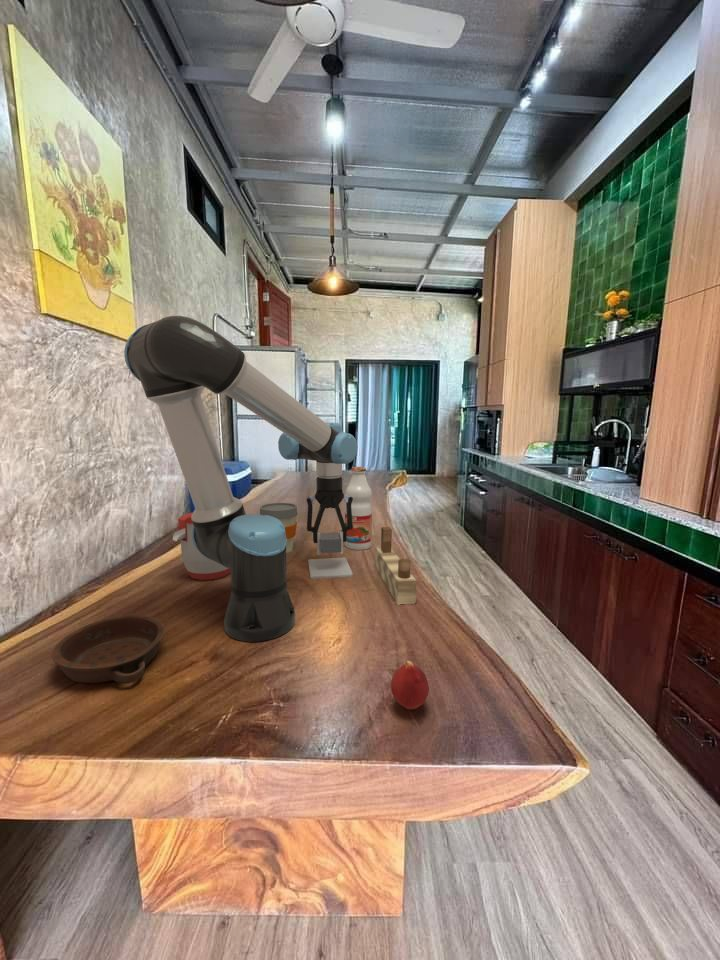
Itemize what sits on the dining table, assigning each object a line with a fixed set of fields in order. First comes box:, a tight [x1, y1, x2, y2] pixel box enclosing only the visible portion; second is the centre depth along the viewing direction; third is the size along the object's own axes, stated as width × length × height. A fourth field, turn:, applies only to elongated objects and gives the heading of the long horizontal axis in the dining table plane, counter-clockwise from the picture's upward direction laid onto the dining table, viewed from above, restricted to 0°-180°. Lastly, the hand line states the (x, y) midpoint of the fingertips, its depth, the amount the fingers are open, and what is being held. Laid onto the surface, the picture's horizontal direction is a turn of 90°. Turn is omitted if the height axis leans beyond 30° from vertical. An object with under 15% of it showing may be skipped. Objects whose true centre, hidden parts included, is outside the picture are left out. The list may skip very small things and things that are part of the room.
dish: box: [51, 614, 166, 685], centre depth 74 cm, size 17×22×5 cm
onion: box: [390, 660, 430, 710], centre depth 63 cm, size 6×6×8 cm
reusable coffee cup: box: [259, 502, 298, 554], centre depth 136 cm, size 13×13×15 cm
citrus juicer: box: [172, 511, 231, 581], centre depth 114 cm, size 16×17×20 cm
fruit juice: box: [344, 466, 373, 551], centre depth 139 cm, size 9×9×28 cm
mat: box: [307, 557, 354, 580], centre depth 121 cm, size 14×12×1 cm
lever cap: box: [320, 531, 341, 554], centre depth 120 cm, size 7×6×4 cm
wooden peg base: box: [374, 526, 418, 606], centre depth 110 cm, size 26×5×13 cm, turn 10°
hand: (329, 552), depth 120 cm, fingers closed on lever cap, 6 cm apart
